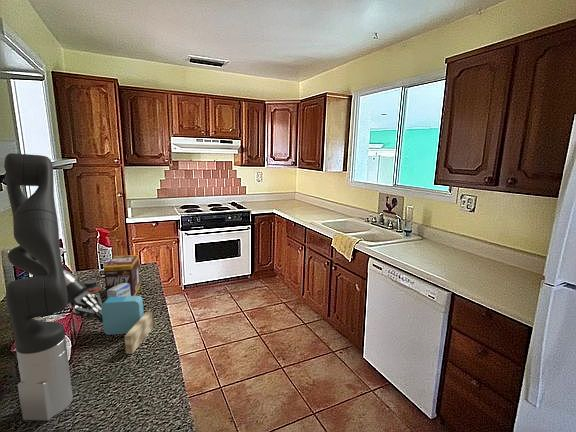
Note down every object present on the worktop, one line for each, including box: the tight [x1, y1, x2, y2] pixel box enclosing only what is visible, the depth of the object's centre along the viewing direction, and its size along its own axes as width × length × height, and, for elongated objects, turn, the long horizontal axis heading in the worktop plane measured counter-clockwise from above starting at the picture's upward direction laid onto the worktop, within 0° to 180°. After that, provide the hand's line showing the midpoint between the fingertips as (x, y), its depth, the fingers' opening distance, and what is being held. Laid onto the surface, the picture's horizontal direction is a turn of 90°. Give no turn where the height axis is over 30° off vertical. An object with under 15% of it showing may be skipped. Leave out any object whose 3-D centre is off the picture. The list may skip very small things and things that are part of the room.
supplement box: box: [103, 254, 141, 300], centre depth 139 cm, size 10×15×16 cm
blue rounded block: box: [101, 295, 145, 336], centre depth 110 cm, size 12×4×12 cm, turn 99°
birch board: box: [124, 310, 155, 355], centre depth 106 cm, size 16×2×6 cm, turn 0°
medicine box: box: [106, 283, 131, 298], centre depth 128 cm, size 8×4×9 cm, turn 169°
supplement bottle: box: [84, 279, 101, 296], centre depth 126 cm, size 6×6×11 cm
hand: (105, 319), depth 111 cm, fingers closed
